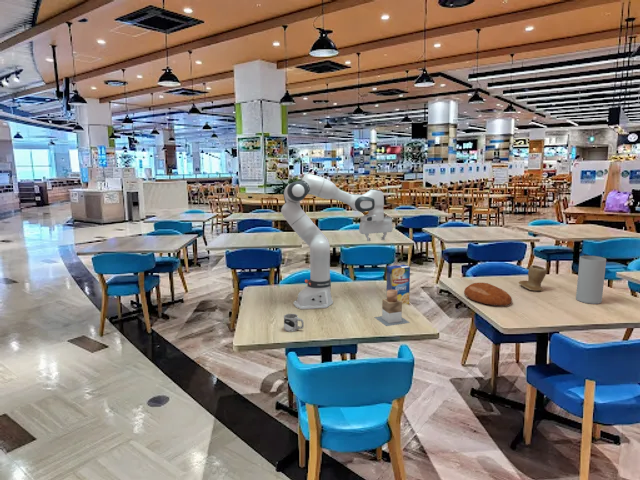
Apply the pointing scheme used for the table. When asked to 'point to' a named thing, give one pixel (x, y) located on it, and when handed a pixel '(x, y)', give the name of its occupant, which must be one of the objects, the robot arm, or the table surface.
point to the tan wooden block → (391, 306)
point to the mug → (292, 322)
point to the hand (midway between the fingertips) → (375, 240)
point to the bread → (487, 294)
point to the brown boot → (534, 278)
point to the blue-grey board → (391, 323)
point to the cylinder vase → (590, 279)
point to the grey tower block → (391, 316)
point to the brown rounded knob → (392, 295)
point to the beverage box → (399, 281)
